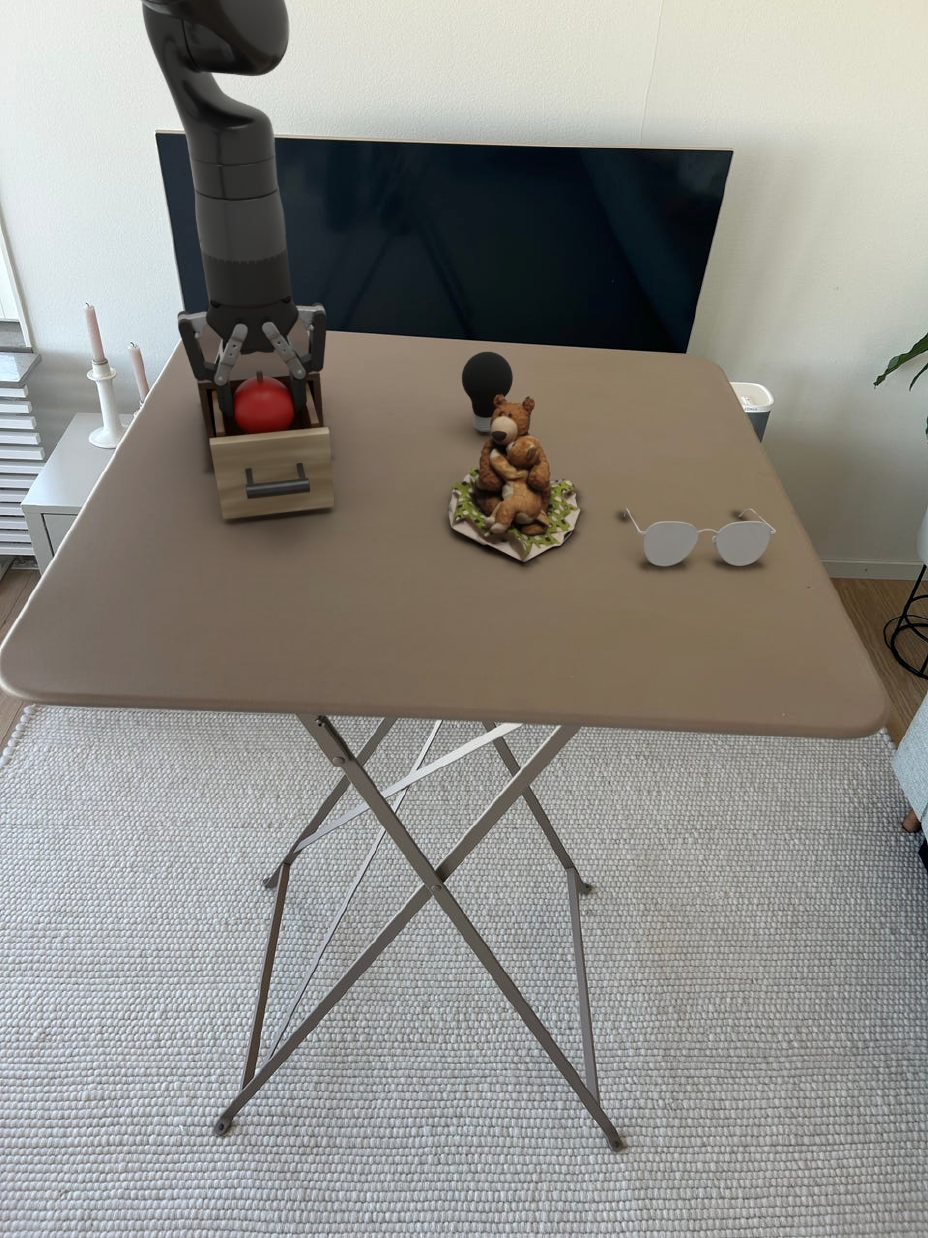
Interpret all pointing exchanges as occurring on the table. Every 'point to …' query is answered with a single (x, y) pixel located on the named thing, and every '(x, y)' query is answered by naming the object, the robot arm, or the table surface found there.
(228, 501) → the drawer
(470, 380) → the light bulb
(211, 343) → the cabinet
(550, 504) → the bear figurine
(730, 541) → the sunglasses
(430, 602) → the table surface
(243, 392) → the apple
